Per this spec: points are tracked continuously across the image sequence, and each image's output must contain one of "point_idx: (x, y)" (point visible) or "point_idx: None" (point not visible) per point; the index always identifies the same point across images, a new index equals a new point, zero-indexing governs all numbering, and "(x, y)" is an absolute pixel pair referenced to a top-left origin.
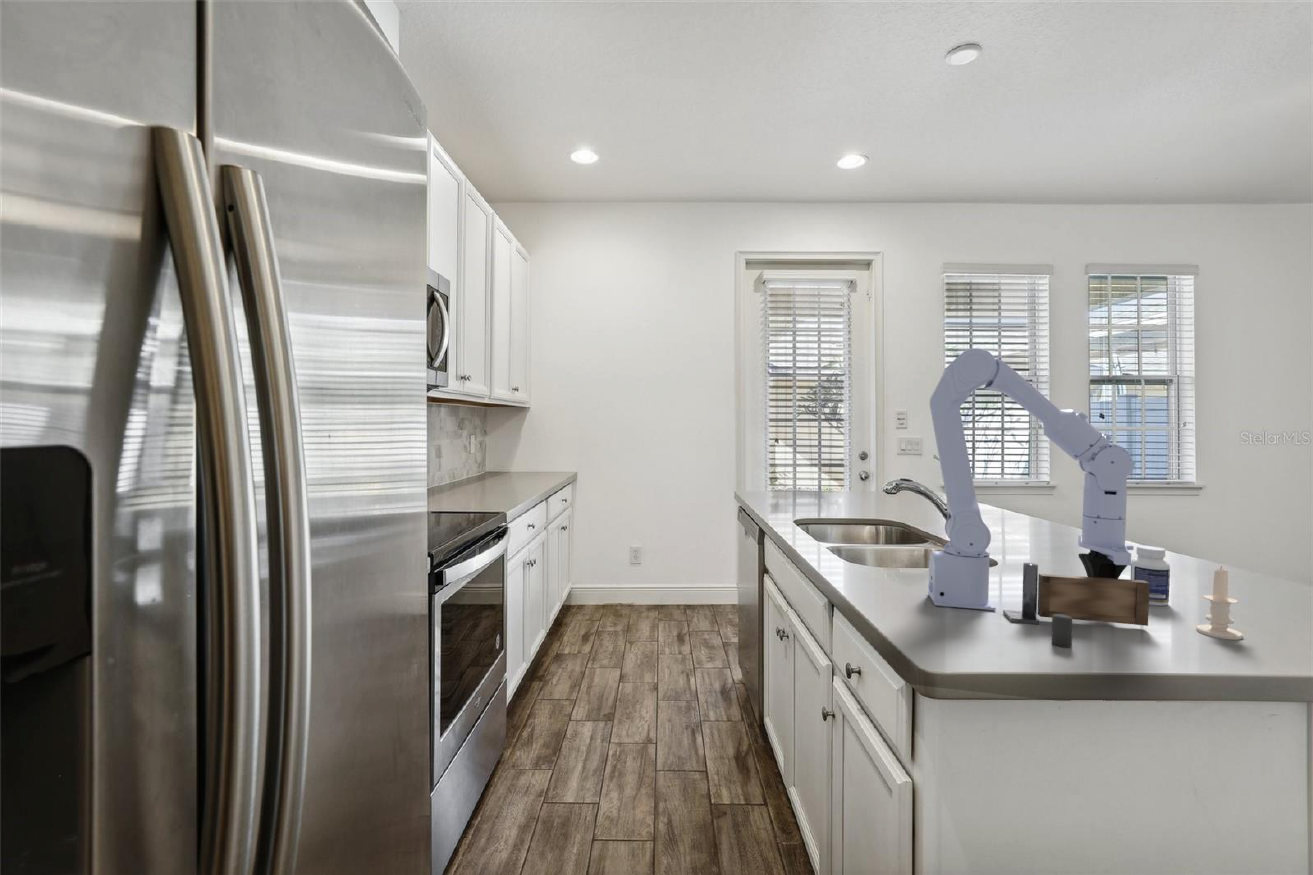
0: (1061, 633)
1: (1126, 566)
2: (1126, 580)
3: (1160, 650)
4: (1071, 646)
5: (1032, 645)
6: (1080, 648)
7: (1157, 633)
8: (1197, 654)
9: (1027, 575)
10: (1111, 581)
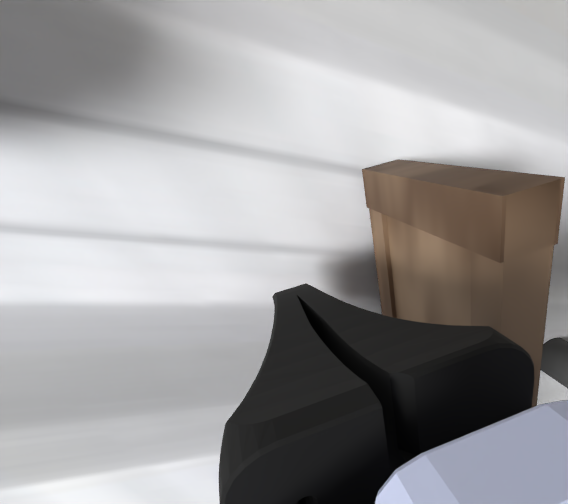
0: None
1: (488, 328)
2: (528, 293)
3: (550, 163)
4: (559, 338)
5: (562, 392)
6: (565, 323)
7: (400, 132)
8: (564, 67)
9: None
10: (535, 352)
